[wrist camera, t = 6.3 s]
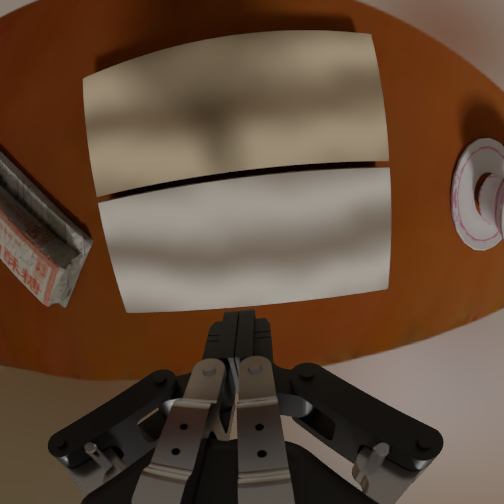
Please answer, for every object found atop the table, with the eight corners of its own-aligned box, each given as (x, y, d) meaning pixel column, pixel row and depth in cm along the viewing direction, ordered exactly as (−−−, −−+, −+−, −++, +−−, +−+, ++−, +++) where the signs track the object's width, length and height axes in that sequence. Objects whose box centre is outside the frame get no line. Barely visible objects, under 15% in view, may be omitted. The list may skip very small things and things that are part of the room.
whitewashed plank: (112, 198, 21) (98, 203, 19) (376, 166, 20) (389, 167, 18) (137, 300, 24) (126, 312, 22) (377, 277, 23) (387, 288, 21)
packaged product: (70, 256, 19) (48, 326, 22) (98, 237, 23) (70, 303, 26) (-28, 152, 15) (-40, 227, 18) (1, 147, 20) (-16, 215, 23)
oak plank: (98, 83, 18) (82, 78, 15) (359, 44, 16) (370, 34, 14) (112, 191, 21) (97, 197, 19) (375, 158, 20) (389, 160, 18)
